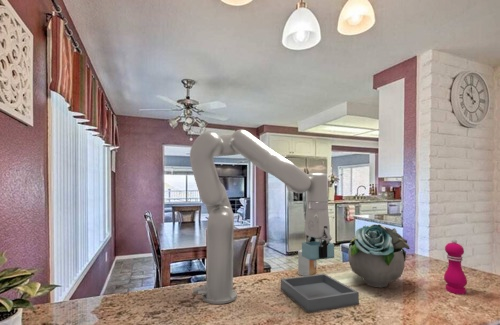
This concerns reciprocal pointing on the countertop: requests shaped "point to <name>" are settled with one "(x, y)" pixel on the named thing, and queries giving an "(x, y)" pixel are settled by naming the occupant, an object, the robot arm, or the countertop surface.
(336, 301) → the gray square tray
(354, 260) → the flower arrangement
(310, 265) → the small box
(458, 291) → the pepper mill
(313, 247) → the small crate
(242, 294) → the countertop surface
